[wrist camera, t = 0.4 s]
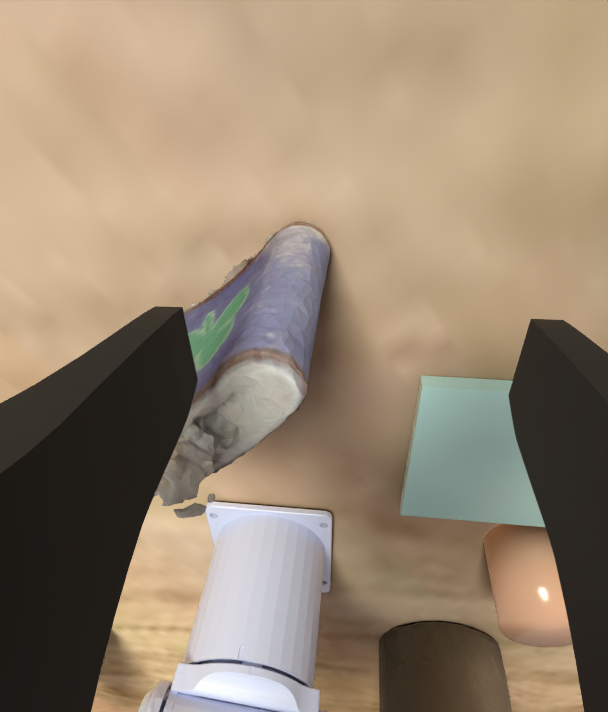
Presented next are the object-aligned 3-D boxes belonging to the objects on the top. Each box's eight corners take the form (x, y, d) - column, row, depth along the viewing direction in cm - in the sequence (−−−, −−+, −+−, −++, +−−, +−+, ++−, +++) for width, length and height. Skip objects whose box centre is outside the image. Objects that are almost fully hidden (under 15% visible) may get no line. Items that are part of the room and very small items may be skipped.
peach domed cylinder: (556, 567, 32) (581, 651, 28) (476, 560, 33) (490, 641, 29) (581, 522, 29) (614, 609, 25) (493, 515, 29) (511, 599, 26)
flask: (303, 205, 19) (247, 394, 11) (351, 258, 20) (334, 467, 12) (159, 326, 24) (40, 526, 15) (206, 364, 25) (119, 570, 16)
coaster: (575, 517, 29) (580, 530, 28) (400, 503, 30) (400, 515, 29) (645, 387, 22) (653, 400, 22) (420, 375, 23) (422, 386, 23)
